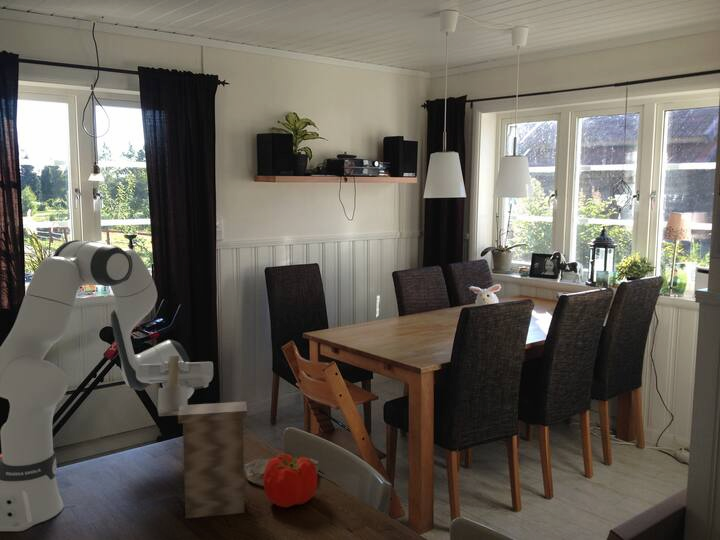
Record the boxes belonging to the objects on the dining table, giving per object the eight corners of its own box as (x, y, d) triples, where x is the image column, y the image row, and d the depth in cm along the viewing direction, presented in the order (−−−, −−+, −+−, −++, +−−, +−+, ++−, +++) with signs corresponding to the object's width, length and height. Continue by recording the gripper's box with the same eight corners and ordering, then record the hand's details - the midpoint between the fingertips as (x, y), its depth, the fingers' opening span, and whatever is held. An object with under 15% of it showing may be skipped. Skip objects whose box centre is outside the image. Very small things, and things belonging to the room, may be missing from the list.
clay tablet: (237, 488, 176) (311, 490, 173) (236, 470, 175) (310, 473, 173) (251, 467, 190) (320, 469, 187) (250, 450, 189) (319, 452, 187)
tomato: (253, 506, 165) (252, 461, 163) (287, 484, 177) (287, 442, 175) (297, 520, 158) (296, 474, 157) (329, 496, 170) (329, 453, 169)
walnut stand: (181, 519, 158) (177, 415, 155) (182, 506, 165) (179, 405, 162) (248, 513, 161) (247, 410, 158) (247, 500, 168) (246, 401, 165)
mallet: (158, 416, 169) (157, 410, 165) (161, 361, 177) (160, 354, 174) (187, 414, 170) (186, 408, 167) (188, 360, 178) (187, 353, 175)
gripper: (138, 368, 185) (132, 354, 172) (213, 365, 189) (212, 351, 177) (138, 390, 182) (131, 378, 170) (213, 386, 187) (212, 374, 174)
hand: (173, 364), depth 173 cm, fingers closed on mallet, 2 cm apart
